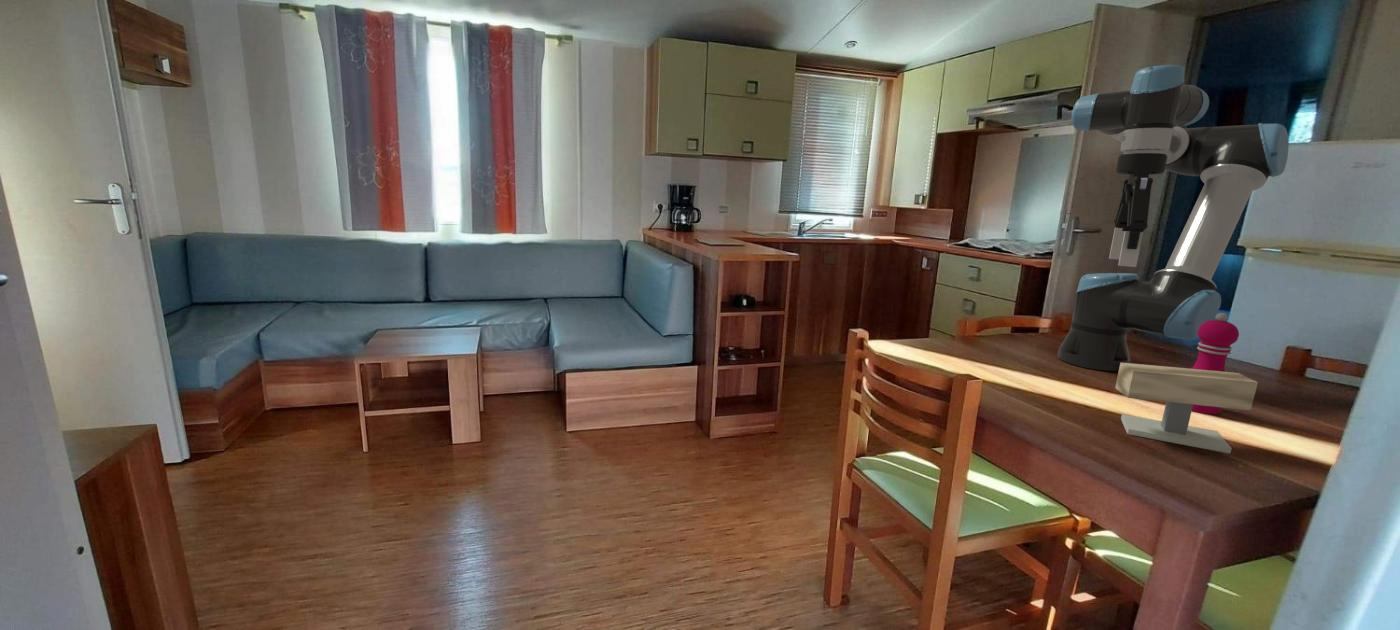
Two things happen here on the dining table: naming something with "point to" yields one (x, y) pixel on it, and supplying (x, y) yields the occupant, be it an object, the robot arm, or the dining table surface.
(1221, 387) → the beech bar
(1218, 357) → the pepper mill
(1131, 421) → the stand
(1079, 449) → the dining table surface
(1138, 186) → the robot arm
